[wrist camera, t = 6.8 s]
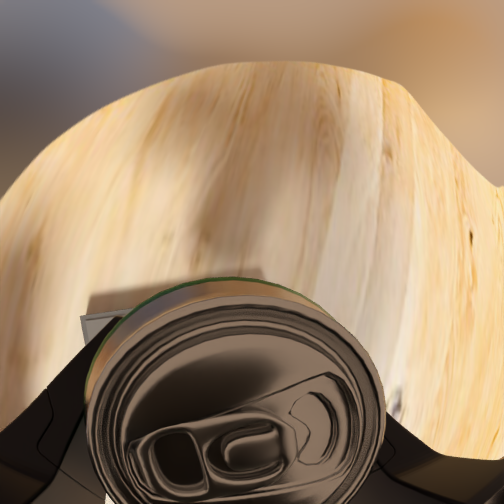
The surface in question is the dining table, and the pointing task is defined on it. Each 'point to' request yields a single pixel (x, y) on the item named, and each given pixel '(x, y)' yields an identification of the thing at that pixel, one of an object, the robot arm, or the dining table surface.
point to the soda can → (232, 400)
